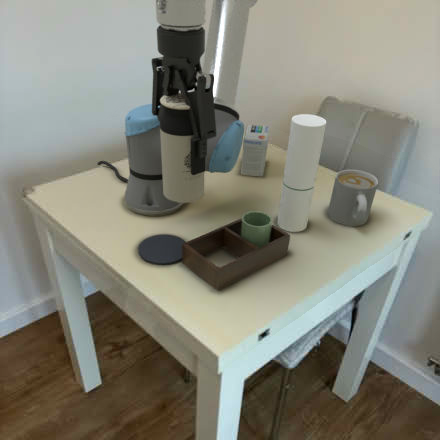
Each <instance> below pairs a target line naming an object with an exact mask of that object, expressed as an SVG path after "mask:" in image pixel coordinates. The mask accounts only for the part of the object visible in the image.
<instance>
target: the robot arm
mask: <svg viewBox="0 0 440 440" xmlns="http://www.w3.org/2000/svg"><path fill="white" fill-rule="evenodd" d="M206 1H207V0H155V15H156V16H155V17H156V22H157V23H158V24H159V25H158V26H157V28H156V43H157V44H156V45H157V52H158V53H159V54H160V55H161V56H159V57H153V58H151V69H152V95H151V103H147V104H143V105H140V106H136V107H134V108H132V109H131V110H130V111H128V112H127V114H126V115H125V117H124V128H125V131H124V136H125V142H126V151H127V160H128V161H127V162H128V170H129V175H128V178H126V177H124V176H122V175H121V174H120V173H119V170H118V168H117V167H115V165H113V164H111V163H110V162H109V161H105V160H99V161H98V162H97V163H96V164H97V166H101V165H105V166H107V167H108V168H110V169H112V170H113V171H114V174H115V176H116V177H117V178H118V179H119V180H121V181H123V182H125V183H126V189H125V192H124V202H125V206H126V208H128V210H129V211H131V212H132V213H133V212H134V213H135V214H138V215H141V216H147V217H148V216H149V217H160V216H167V215H170V214H173V213H177V212H178V211H179V210H181V209H182V208H183V207H184V206H185V204H186V203H179V202H175V201H171V200H169V199H167V198H166V197H165V196H164V193H163V174H162V155H161V136H160V116H161V114H162V112H163V107H162V104H161V102H160V99H161V97H163V96H164V95H165V96H171V95H176V94H179V93H181V96H182V98H183V99H185V102H186V105H188V106H189V107H190V109H189V113H188V114H189V118H190V122H191V126H192V130H193V134H194V138H191V174H192V175H196V174H199V173H202V172H204V173H205V172H209V173H210V174H214V173H220V174H227V173H230V172H232V170H234V168H235V166H236V165H237V162H238V160H239V156H240V153H241V149H242V147H243V139H244V136H245V123H244V122H243V121H241V120H240V112H239V110H237V108H236V107H235V106H236V99H237V93H238V86H239V80H240V73H241V69H242V68H241V67H242V61H243V54H244V48H245V41H246V36H247V31H248V30H247V29H248V22H249V18H250V17H249V16H250V11H251V9H252V8H253V7H254V6H255V5H256V4H257V3H258V0H212V4H211V5H212V6H211V11H210V18H209V25H208V31H207V38H206V30H205V28H204V27H203V25H205V24H206V17H207V15H206V11H207V10H206V9H207V8H206ZM202 56H203V63H202V65H201V58H202ZM200 131H201V132H200Z"/></svg>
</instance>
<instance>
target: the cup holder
mask: <svg viewBox="0 0 440 440" xmlns="http://www.w3.org/2000/svg"><path fill="white" fill-rule="evenodd" d="M241 221H242V217H241V218H239V219H236V220H234V221H232V222H229V223H228V224H227V223H226V224H225V225H223V226H220V227H218V228H216V229H214V230H211V231H208V232H206V233H204V234H202V235H199V236H196V237H194V238H193V239H190V240H188V241H186V242H185V243H183V244H182V260H181V261H182V262H181V263H182V265H184V266H185V267H186V268H188V269H189V270H190V271H191V272H193V273H194V274H195V275H197V276H198V277H199V278H201V280H203V281H204V282H205V283H207V284H208V285H209V286H211V287H212V288H213V289H215V290H216V291H217V292H218V291H220V290H222V289H224V288H226V287H228V286H230V285H231V284H234V283H235V282H237V281H240V280H241V279H243V278H245V277H247V276H249V275H250V274H252V273H254V272H256V271H258V270H260V269H262V268H264V267H266V266H268V265H270V264H272V263H273V262H275V261H277V260H279V259H281V258H282V257H285V256H287V255H288V253H289V248H290V247H289V246H290V241H291V234H289V233H287V232H286V231H285V230H283V229H282V228H280V227H277V226H276V225H274V224H272V228H271V236H270V243H268V244H266V245H264V246H262V247H260V248H258V247H256V246H255V245H253V244H252V243H250V242H249V241H247V240H246V239H244V238H242V237H241V236H240V233H241ZM222 248H223V249H225V250H226V251H228V252H229V253H231V254H233V256H235V257H237V258H236V259H234V260H232V261H229V262H228V263H225V264H223V265H222V266H217V265H216V264H215V263H214V262H212V261H211V260H209V259H208V258H207V257H205V256H207V255H209V254H212V253H214V252H216V251H218V250H220V249H222Z"/></svg>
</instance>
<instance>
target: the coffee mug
mask: <svg viewBox="0 0 440 440" xmlns="http://www.w3.org/2000/svg"><path fill="white" fill-rule="evenodd" d="M378 184H379V181H378V178H377V177H376V176H375V175H373V174H372V173H370V172H367V171H363V170H359V169H344V170H340V171H338V172H337V173H336V174H335V178H334V182H333V187H332V192H331V196H330V201H329V205H328V209H327V215H328V218H330V219H331V220H332V221H334V222H335V223H337V224H340V225H344V226H348V227H358V226H363V225H365V224H366V223H367V222H368V220H369V217H370V213H371V209H372V207H373V202H374V199H375V195H376V192H377V189H378V186H379V185H378Z"/></svg>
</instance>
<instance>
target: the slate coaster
mask: <svg viewBox="0 0 440 440" xmlns="http://www.w3.org/2000/svg"><path fill="white" fill-rule="evenodd" d="M185 242H187V241H186V240H185V239H184V238H182V237H180V236H177V235H174V234H167V233H165V234H162V233H161V234H155V235H152V236H149V237H146V238H145V239H143V240H142V241H141V242H140V243H139V245H138V247H137V253H138V255H139V257H140V259H142V260H143V261H144V262H146V263H148V264H152V265H157V266H168V265H169V266H170V265H174V264H176V263H177V264H178V263H179V262H181V261H182V244H183V243H185Z"/></svg>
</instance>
